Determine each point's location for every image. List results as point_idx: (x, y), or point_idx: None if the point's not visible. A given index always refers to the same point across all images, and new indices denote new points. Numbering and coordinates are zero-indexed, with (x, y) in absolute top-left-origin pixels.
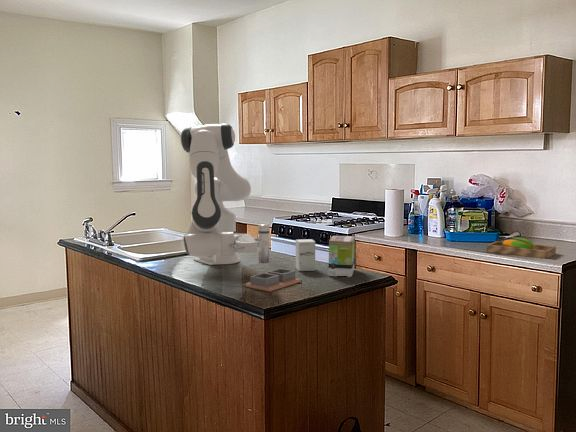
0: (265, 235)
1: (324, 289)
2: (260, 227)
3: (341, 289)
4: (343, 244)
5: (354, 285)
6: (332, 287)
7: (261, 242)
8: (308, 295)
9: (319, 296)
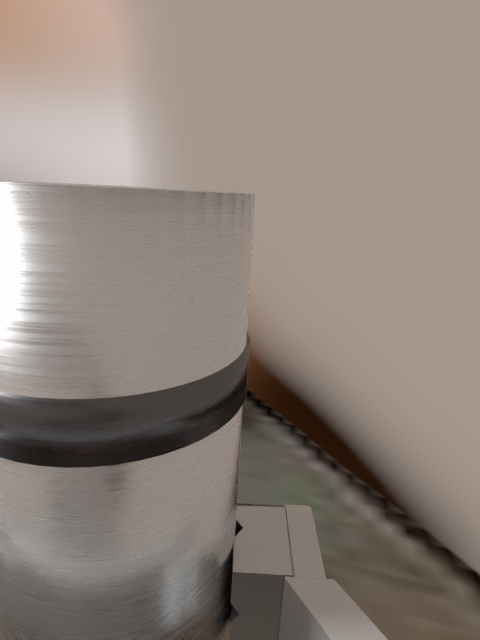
0: (241, 420)
1: (316, 504)
2: (198, 261)
3: (321, 457)
4: None
5: (268, 417)
6: (285, 472)
7: (362, 631)
8: (445, 600)
9: (454, 555)
